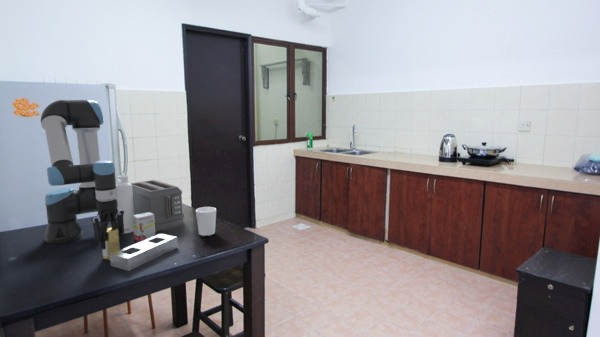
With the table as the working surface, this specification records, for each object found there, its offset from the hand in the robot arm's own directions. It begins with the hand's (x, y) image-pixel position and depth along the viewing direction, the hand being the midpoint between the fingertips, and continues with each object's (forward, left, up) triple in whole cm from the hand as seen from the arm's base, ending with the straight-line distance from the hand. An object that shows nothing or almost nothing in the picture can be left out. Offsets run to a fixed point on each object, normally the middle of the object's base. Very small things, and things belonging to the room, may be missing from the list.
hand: (111, 253), depth 154 cm
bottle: (-22, +26, -2) cm, 34 cm away
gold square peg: (0, 0, -2) cm, 2 cm away
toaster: (-21, +43, -2) cm, 48 cm away
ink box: (-5, +22, -2) cm, 23 cm away
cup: (+18, +39, -2) cm, 43 cm away
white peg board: (+12, +7, -2) cm, 14 cm away
